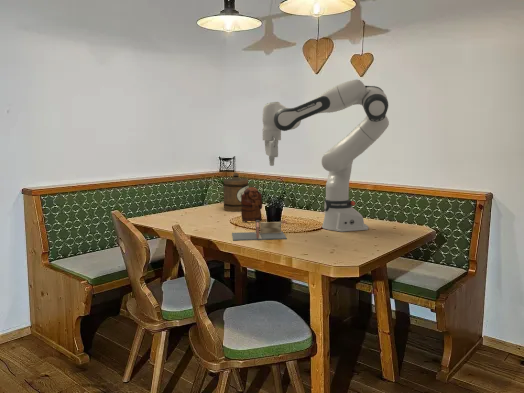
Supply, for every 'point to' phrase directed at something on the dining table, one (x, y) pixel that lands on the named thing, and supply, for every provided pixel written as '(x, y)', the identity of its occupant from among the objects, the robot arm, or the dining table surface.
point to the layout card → (254, 236)
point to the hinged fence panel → (257, 229)
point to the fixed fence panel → (269, 227)
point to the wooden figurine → (251, 205)
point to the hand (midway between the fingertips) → (271, 165)
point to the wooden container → (234, 193)
